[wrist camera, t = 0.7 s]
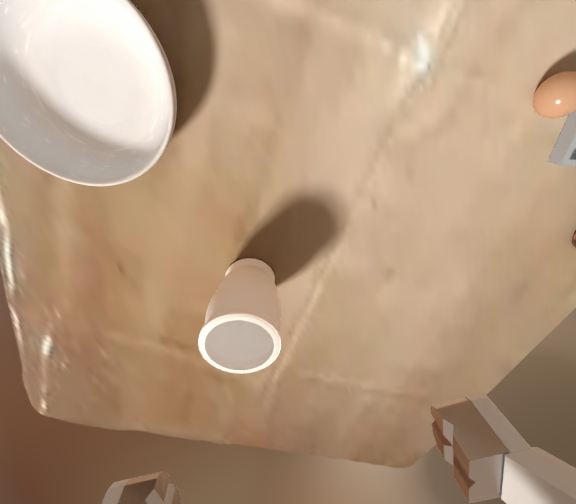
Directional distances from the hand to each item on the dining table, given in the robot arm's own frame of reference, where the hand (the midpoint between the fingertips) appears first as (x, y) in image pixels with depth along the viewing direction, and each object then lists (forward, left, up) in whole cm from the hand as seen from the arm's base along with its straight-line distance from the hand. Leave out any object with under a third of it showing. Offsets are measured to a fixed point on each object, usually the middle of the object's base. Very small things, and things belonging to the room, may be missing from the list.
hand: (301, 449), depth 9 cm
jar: (+19, -5, -37) cm, 42 cm away
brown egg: (-10, +32, -37) cm, 50 cm away
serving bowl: (-9, -22, -37) cm, 44 cm away
